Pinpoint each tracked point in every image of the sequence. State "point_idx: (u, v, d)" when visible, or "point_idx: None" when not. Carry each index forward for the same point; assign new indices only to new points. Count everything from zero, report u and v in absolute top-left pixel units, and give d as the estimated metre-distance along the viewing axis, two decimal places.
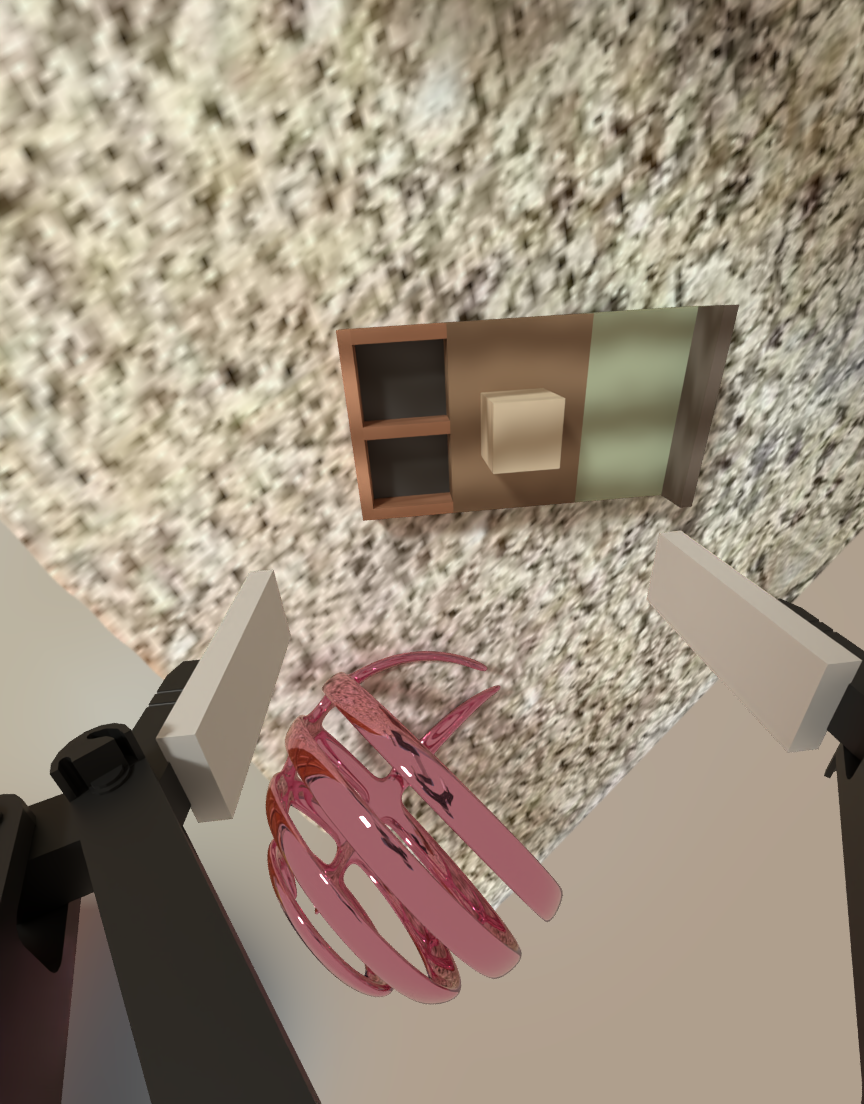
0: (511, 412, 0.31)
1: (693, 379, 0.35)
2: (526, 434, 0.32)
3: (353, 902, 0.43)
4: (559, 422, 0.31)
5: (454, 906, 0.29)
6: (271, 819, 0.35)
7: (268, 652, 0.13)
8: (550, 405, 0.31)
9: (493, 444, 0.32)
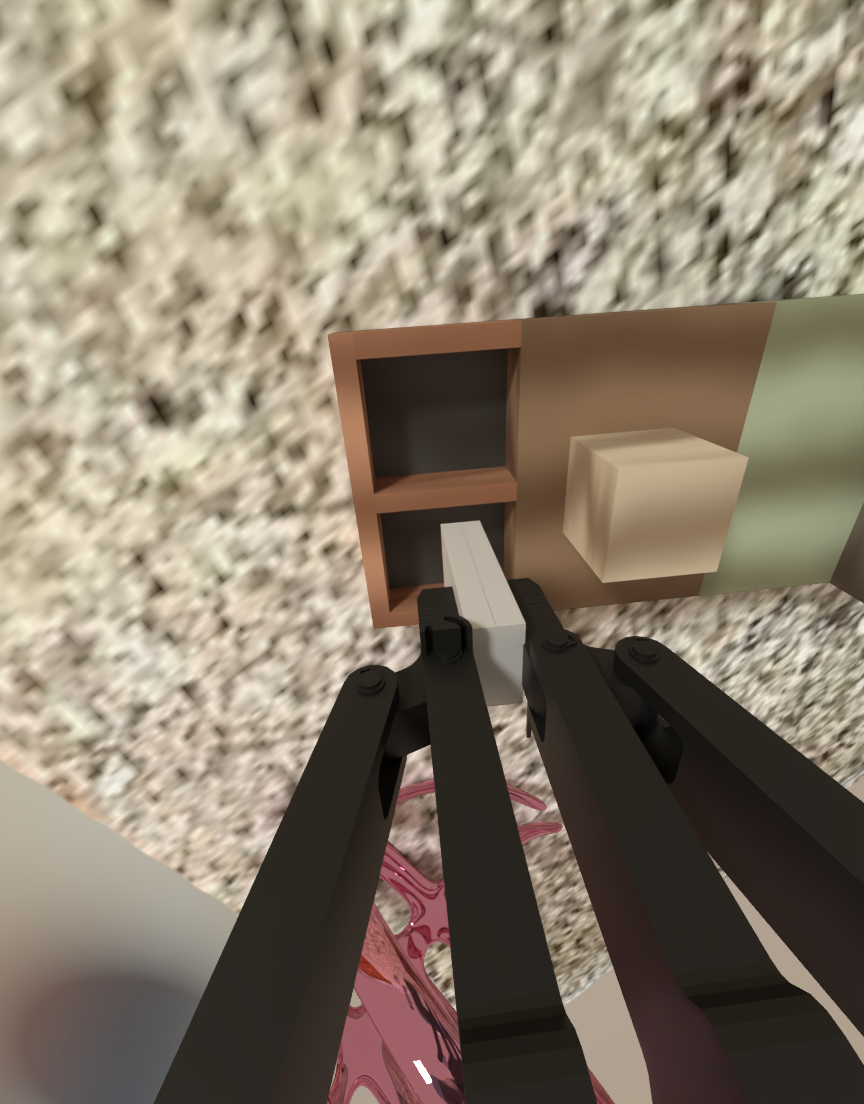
0: (648, 482, 0.17)
1: None
2: (669, 519, 0.18)
3: None
4: (730, 498, 0.17)
5: None
6: None
7: None
8: (720, 470, 0.17)
9: (608, 536, 0.18)
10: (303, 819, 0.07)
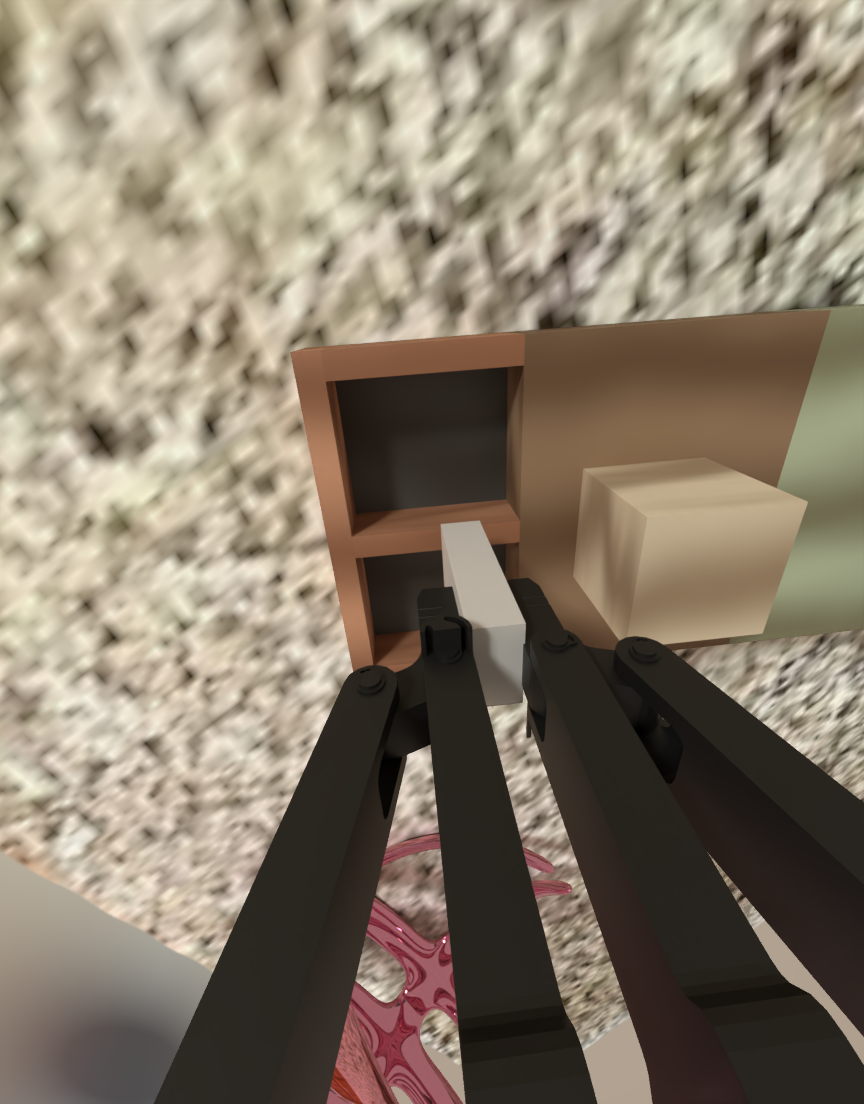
0: (683, 532, 0.14)
1: None
2: (707, 575, 0.14)
3: None
4: (783, 549, 0.14)
5: None
6: None
7: None
8: (773, 518, 0.14)
9: (633, 595, 0.15)
10: (303, 819, 0.07)
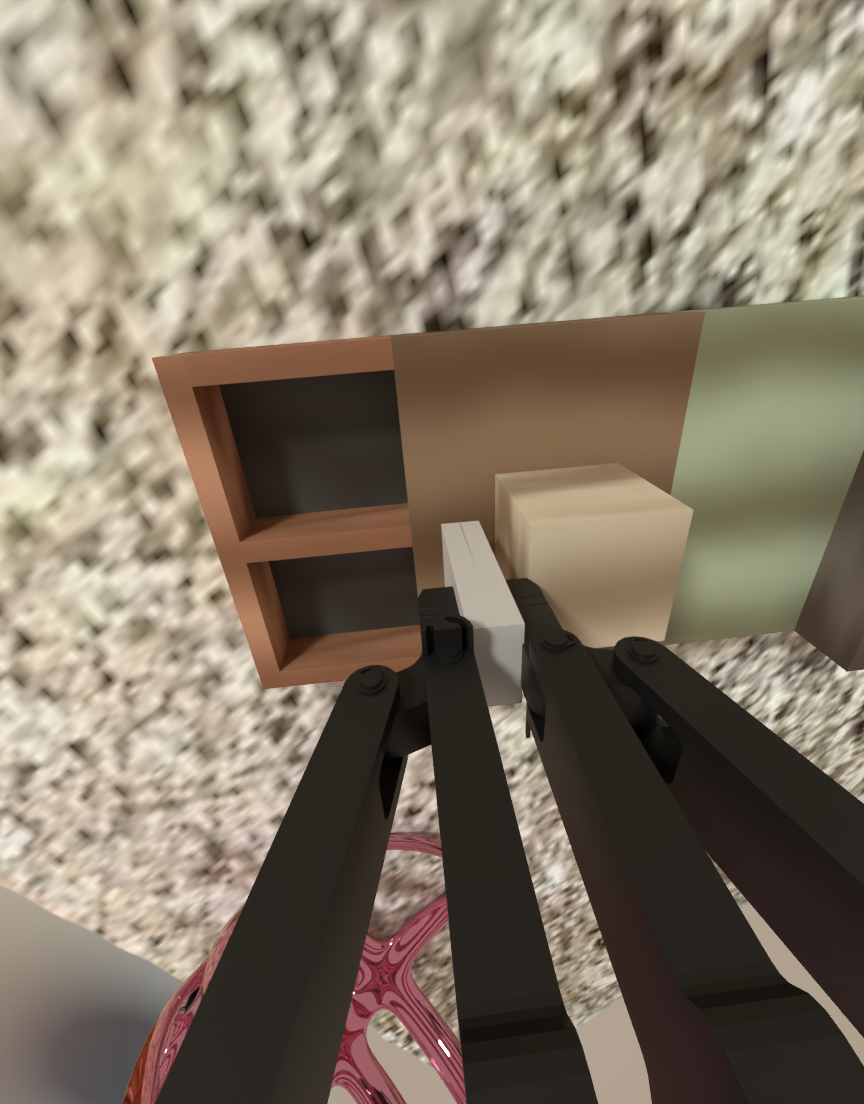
0: (569, 540, 0.14)
1: None
2: (599, 583, 0.14)
3: None
4: (674, 557, 0.14)
5: None
6: None
7: None
8: (659, 525, 0.14)
9: None
10: (304, 819, 0.07)
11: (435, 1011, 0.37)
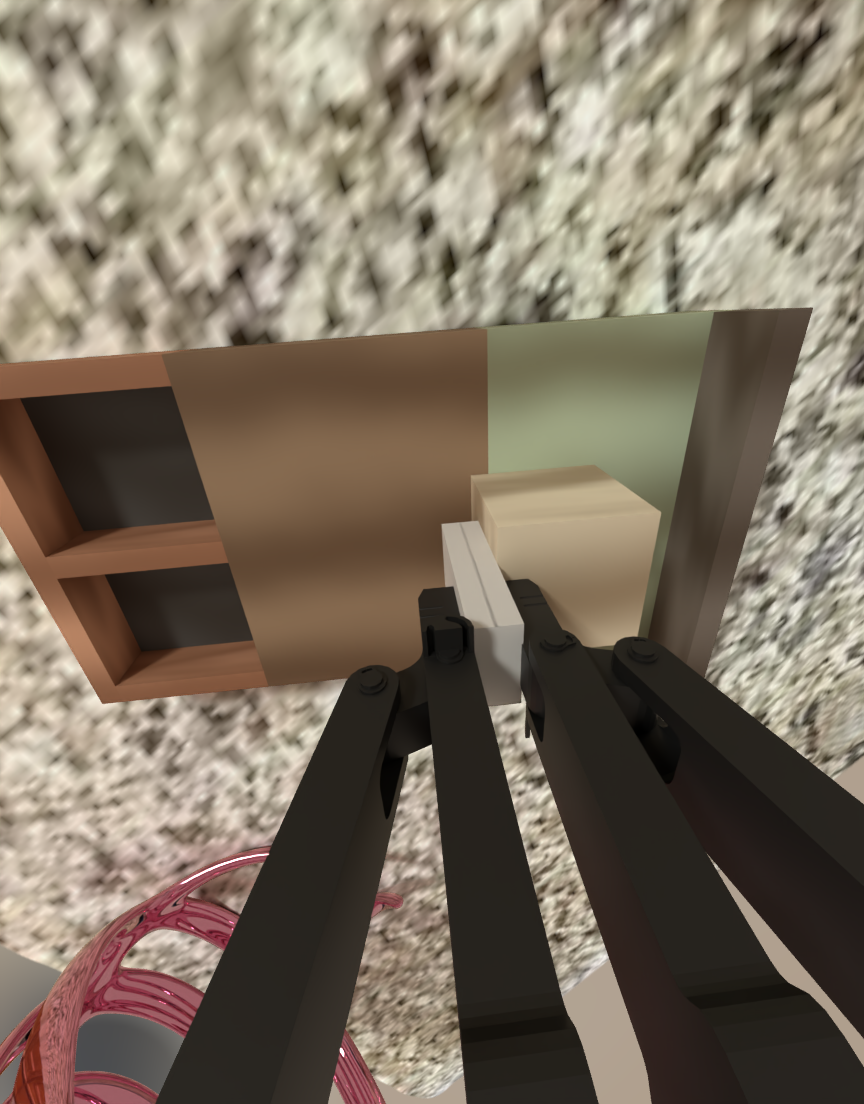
0: (538, 542, 0.14)
1: (703, 461, 0.17)
2: (569, 584, 0.14)
3: None
4: (643, 560, 0.14)
5: None
6: None
7: None
8: (628, 528, 0.14)
9: None
10: (305, 819, 0.07)
11: None
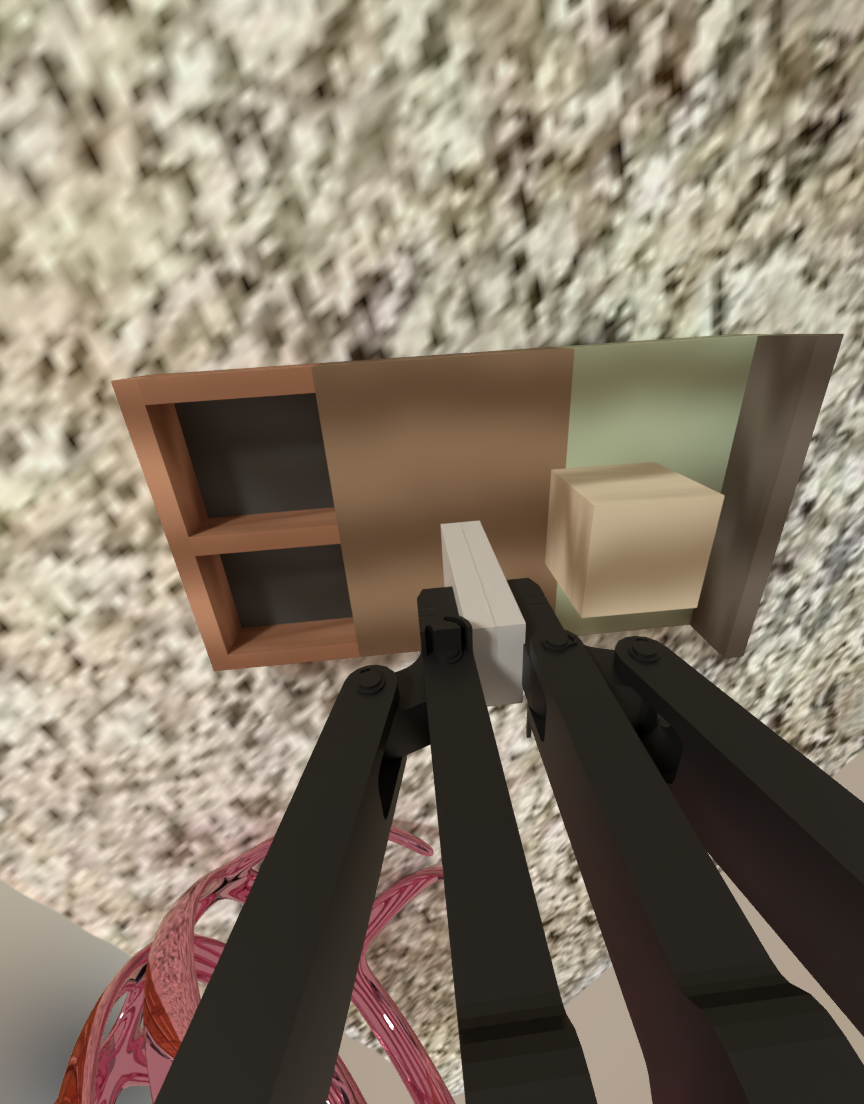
0: (624, 518, 0.17)
1: (748, 458, 0.20)
2: (646, 555, 0.18)
3: None
4: (708, 535, 0.17)
5: None
6: None
7: None
8: (697, 508, 0.17)
9: (586, 571, 0.18)
10: (303, 819, 0.07)
11: (387, 995, 0.38)
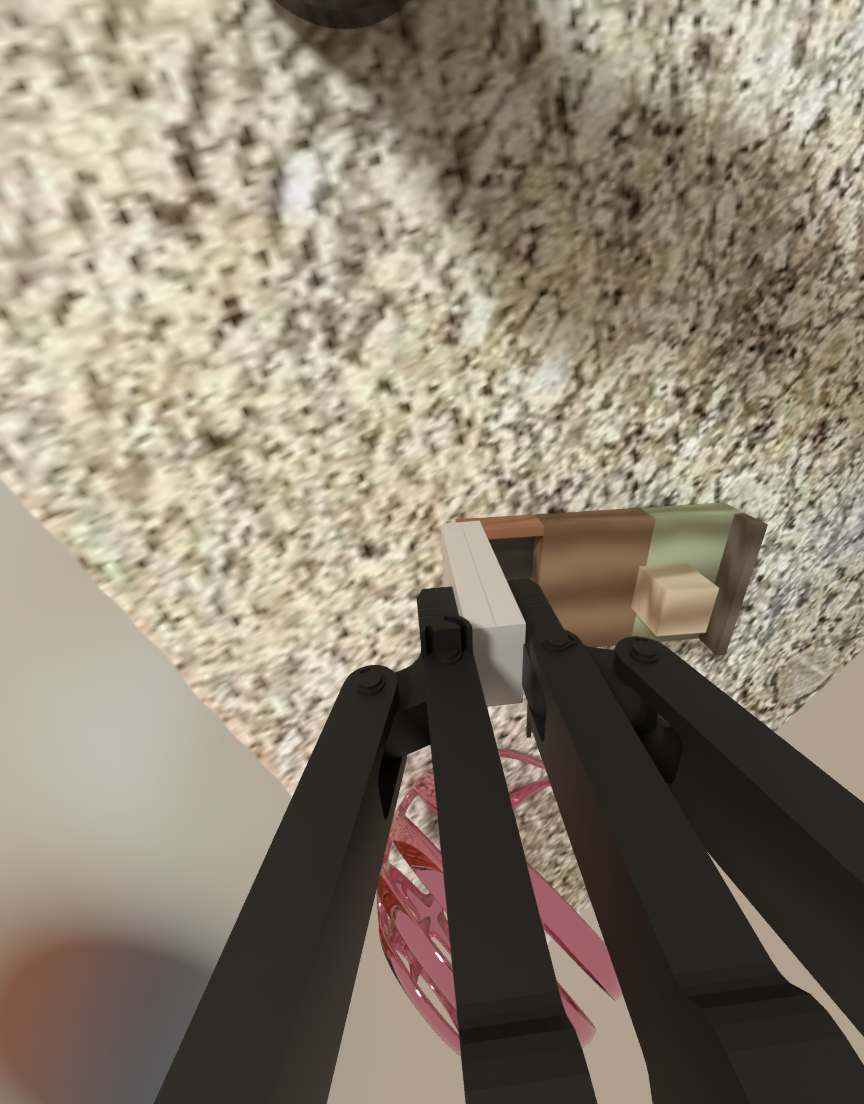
0: (678, 596, 0.41)
1: (729, 564, 0.45)
2: (686, 610, 0.42)
3: None
4: (711, 603, 0.42)
5: None
6: (393, 913, 0.43)
7: None
8: (708, 592, 0.41)
9: (660, 616, 0.42)
10: (303, 819, 0.07)
11: None
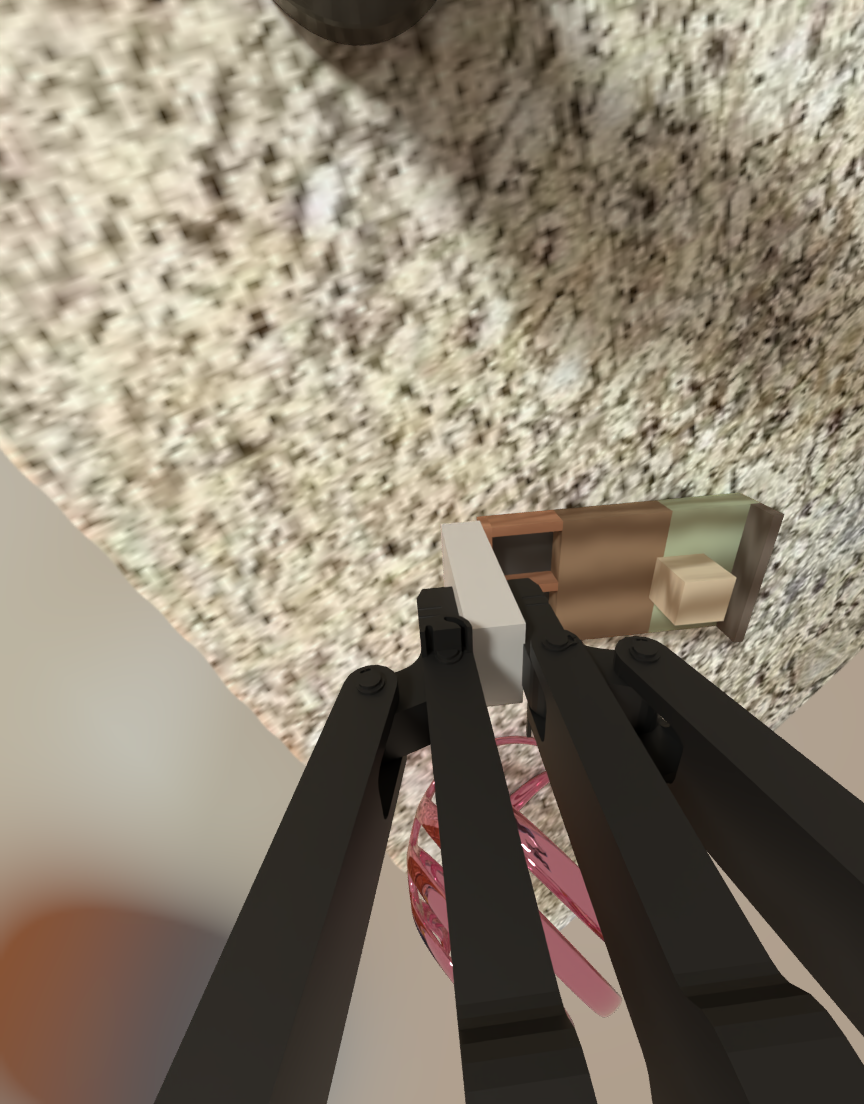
0: (696, 586, 0.42)
1: (746, 553, 0.45)
2: (704, 600, 0.43)
3: None
4: (729, 592, 0.43)
5: (584, 966, 0.39)
6: (426, 892, 0.45)
7: None
8: (725, 582, 0.42)
9: (678, 606, 0.43)
10: (303, 819, 0.07)
11: None
